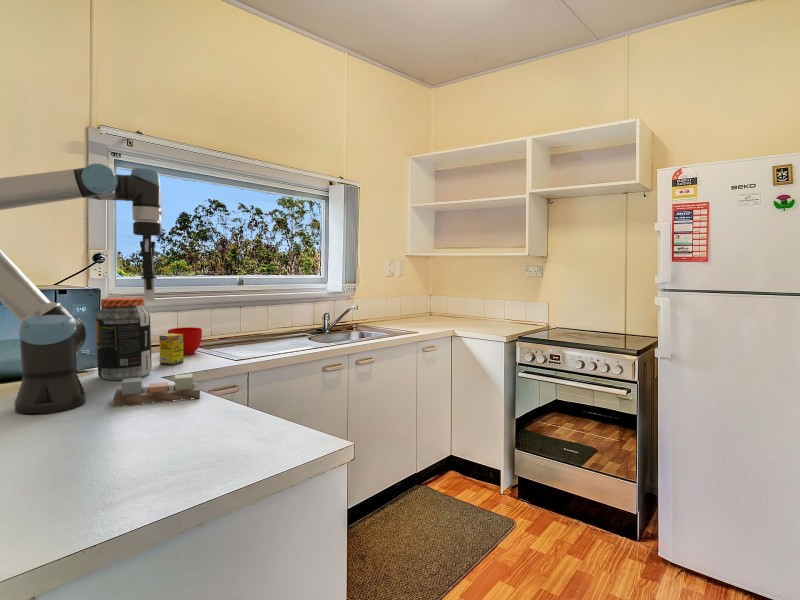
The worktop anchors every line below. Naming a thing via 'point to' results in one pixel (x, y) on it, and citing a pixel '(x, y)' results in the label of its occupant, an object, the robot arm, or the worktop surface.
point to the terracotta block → (158, 387)
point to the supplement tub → (123, 339)
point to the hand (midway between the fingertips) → (149, 300)
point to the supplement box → (171, 349)
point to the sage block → (183, 382)
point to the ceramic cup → (189, 338)
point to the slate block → (131, 386)
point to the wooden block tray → (156, 395)
